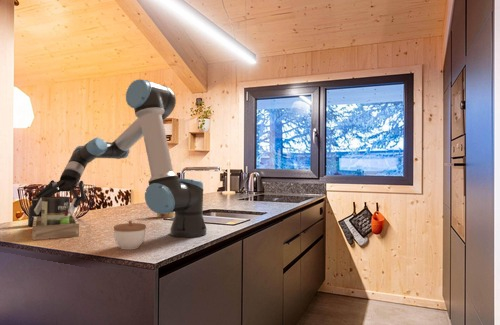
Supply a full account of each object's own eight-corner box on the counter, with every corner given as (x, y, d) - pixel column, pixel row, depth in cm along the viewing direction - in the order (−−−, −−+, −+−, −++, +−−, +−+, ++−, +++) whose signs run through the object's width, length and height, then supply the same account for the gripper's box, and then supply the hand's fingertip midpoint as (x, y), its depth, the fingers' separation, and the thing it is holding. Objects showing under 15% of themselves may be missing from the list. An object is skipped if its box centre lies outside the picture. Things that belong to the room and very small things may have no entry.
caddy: (78, 236, 144) (79, 223, 144) (32, 239, 136) (32, 226, 136) (74, 225, 166) (74, 215, 166) (33, 228, 158) (34, 217, 158)
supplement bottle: (32, 227, 161) (33, 200, 161) (25, 225, 164) (25, 199, 165) (48, 225, 167) (48, 199, 167) (40, 223, 170) (40, 198, 170)
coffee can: (75, 230, 150) (75, 196, 150) (57, 235, 140) (57, 199, 140) (53, 229, 152) (54, 195, 152) (34, 233, 142) (35, 198, 142)
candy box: (173, 216, 201) (173, 188, 201) (173, 217, 197) (174, 189, 197) (157, 216, 199) (157, 188, 199) (156, 217, 195) (157, 189, 195)
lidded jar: (132, 252, 120) (132, 224, 120) (106, 249, 123) (107, 222, 123) (151, 245, 130) (152, 219, 130) (127, 243, 133) (127, 217, 133)
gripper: (102, 180, 162) (86, 218, 147) (47, 179, 162) (26, 217, 147) (97, 168, 156) (81, 207, 141) (40, 167, 156) (17, 206, 141)
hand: (53, 212), depth 144 cm, fingers open, 13 cm apart
